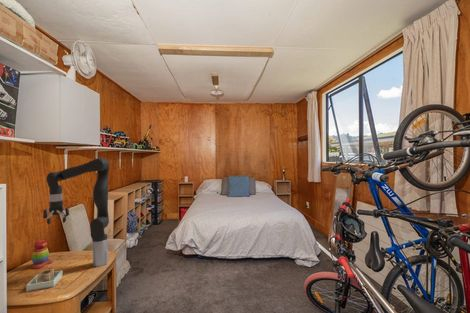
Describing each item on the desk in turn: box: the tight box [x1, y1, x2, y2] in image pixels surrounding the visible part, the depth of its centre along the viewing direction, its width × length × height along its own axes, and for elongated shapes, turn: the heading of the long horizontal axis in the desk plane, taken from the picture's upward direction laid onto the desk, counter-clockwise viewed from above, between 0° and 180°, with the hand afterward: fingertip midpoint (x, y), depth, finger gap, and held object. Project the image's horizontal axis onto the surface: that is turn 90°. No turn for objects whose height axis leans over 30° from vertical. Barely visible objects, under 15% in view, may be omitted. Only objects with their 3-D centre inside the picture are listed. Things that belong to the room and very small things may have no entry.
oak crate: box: [36, 268, 55, 283], centre depth 136 cm, size 6×6×6 cm
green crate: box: [25, 269, 64, 293], centre depth 136 cm, size 13×13×4 cm
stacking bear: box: [31, 238, 53, 270], centre depth 160 cm, size 11×10×18 cm
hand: (56, 223), depth 158 cm, fingers open, 8 cm apart
